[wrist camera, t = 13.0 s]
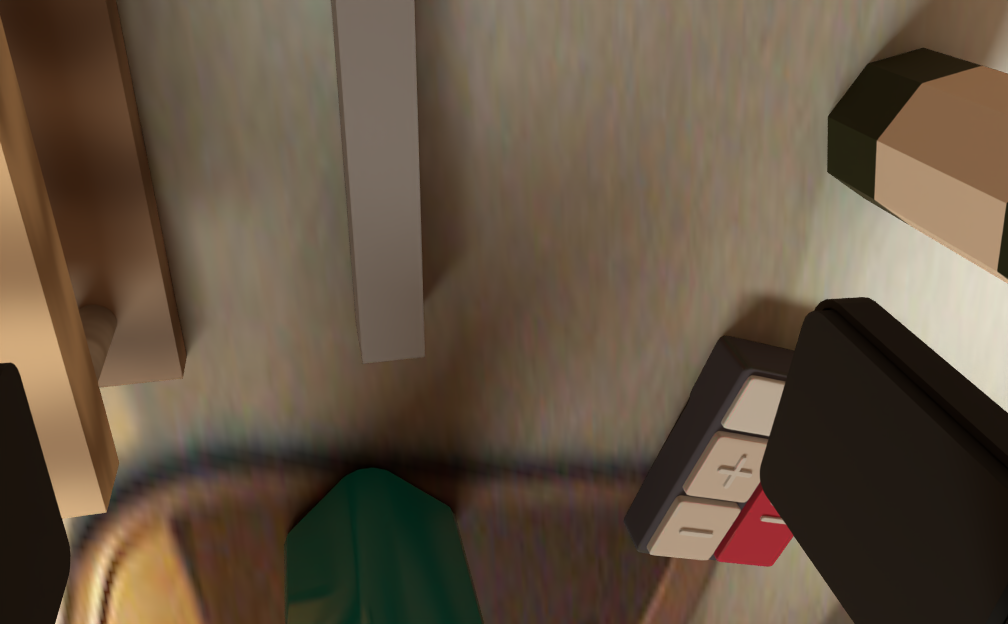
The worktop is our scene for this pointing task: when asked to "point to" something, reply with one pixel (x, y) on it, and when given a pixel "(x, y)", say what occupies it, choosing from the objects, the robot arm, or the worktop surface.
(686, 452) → the calculator
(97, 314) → the peg stand
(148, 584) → the worktop surface
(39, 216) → the wooden block
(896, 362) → the robot arm
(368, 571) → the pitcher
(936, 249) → the worktop surface
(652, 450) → the worktop surface
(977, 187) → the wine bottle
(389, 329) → the block
